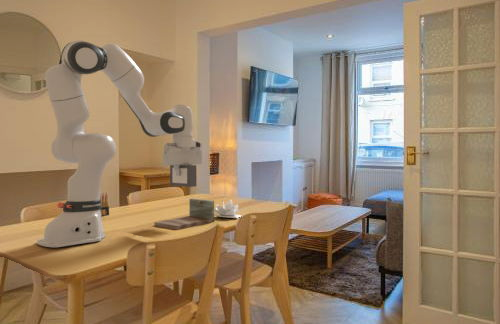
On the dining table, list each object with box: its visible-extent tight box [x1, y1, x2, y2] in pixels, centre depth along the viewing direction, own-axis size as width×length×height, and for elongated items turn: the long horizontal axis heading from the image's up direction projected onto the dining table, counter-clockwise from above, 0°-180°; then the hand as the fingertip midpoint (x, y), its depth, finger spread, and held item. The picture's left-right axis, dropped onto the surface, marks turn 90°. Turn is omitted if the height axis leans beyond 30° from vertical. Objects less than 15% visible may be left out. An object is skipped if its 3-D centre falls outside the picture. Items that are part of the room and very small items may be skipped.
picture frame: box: [169, 164, 197, 188], centre depth 158 cm, size 4×12×9 cm, turn 54°
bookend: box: [154, 198, 215, 231], centre depth 159 cm, size 22×14×10 cm, turn 144°
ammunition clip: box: [100, 191, 110, 218], centre depth 173 cm, size 11×2×12 cm, turn 150°
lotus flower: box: [214, 199, 243, 219], centre depth 175 cm, size 14×15×9 cm
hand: (183, 175), depth 158 cm, fingers closed on picture frame, 4 cm apart
